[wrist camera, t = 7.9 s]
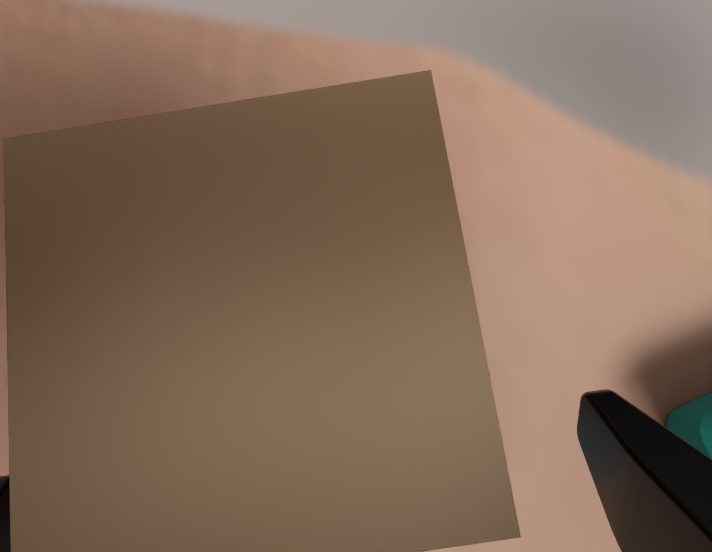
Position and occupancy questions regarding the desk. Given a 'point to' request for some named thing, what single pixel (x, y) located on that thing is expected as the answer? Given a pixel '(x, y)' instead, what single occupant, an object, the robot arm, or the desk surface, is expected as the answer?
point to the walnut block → (248, 333)
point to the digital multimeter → (694, 423)
